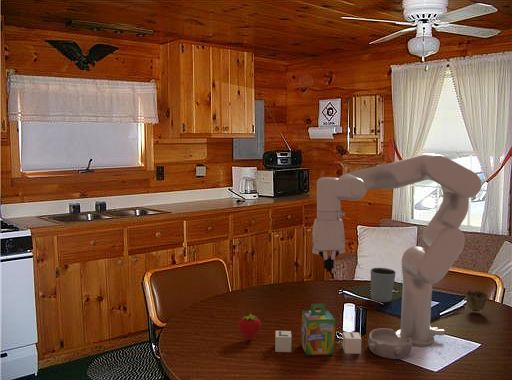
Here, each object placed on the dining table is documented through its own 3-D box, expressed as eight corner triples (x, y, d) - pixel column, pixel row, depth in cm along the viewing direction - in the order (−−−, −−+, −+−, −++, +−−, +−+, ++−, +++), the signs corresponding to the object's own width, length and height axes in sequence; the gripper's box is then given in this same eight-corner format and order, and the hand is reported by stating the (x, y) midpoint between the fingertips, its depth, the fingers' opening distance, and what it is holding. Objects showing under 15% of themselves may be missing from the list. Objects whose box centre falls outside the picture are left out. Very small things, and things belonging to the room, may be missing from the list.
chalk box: (306, 356, 162) (307, 310, 160) (300, 344, 171) (301, 300, 169) (335, 355, 163) (336, 309, 161) (327, 342, 172) (329, 299, 170)
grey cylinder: (364, 296, 220) (365, 268, 218) (383, 293, 224) (384, 266, 222) (379, 304, 211) (381, 275, 209) (399, 300, 215) (400, 272, 213)
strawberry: (237, 337, 176) (237, 308, 175) (259, 335, 177) (259, 307, 176) (239, 344, 170) (239, 315, 169) (262, 343, 171) (262, 313, 170)
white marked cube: (290, 345, 170) (290, 330, 169) (291, 352, 165) (291, 336, 164) (275, 345, 170) (275, 330, 169) (275, 351, 165) (275, 336, 164)
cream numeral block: (357, 347, 169) (358, 332, 169) (360, 353, 165) (361, 338, 164) (342, 346, 170) (343, 331, 169) (344, 353, 165) (345, 337, 164)
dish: (379, 338, 177) (379, 324, 176) (418, 350, 168) (419, 335, 167) (358, 352, 166) (359, 337, 165) (399, 365, 157) (400, 350, 156)
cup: (482, 310, 205) (483, 290, 204) (488, 316, 198) (490, 296, 197) (462, 309, 206) (464, 289, 205) (468, 316, 199) (469, 295, 198)
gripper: (349, 213, 172) (349, 267, 174) (304, 214, 171) (304, 268, 174) (354, 217, 164) (353, 273, 167) (306, 218, 164) (307, 274, 166)
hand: (328, 270), depth 170 cm, fingers closed
